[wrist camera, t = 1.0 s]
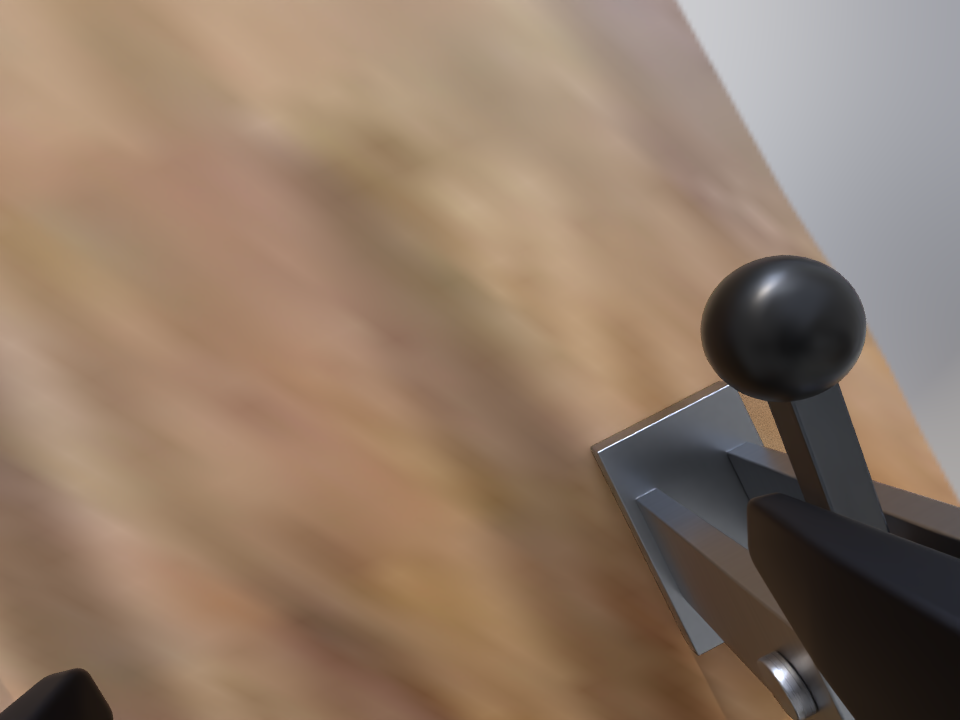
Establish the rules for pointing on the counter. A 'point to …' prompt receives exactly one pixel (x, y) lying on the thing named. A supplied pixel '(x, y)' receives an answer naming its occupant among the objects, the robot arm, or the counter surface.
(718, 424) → the bracket
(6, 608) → the counter surface
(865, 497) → the ball knob lever
